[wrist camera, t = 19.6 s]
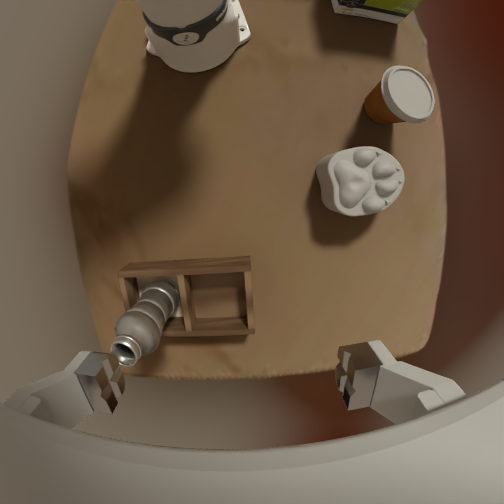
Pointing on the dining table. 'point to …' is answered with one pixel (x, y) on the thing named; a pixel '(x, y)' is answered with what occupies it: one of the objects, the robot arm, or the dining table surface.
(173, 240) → the dining table surface
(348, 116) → the dining table surface
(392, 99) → the disposable coffee cup
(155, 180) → the dining table surface
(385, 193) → the lumpy-topped squat cylinder
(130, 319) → the metal bottle
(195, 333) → the bottle carrier
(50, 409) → the robot arm
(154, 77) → the dining table surface
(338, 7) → the tea box
